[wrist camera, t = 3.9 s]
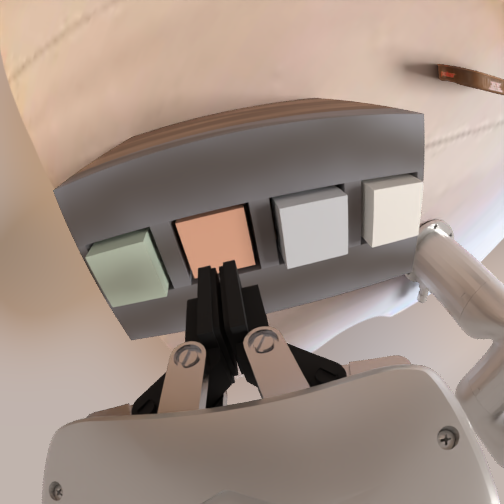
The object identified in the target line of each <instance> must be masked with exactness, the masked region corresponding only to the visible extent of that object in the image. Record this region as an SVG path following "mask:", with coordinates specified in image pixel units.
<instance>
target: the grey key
mask: <svg viewBox="0 0 504 504" xmlns="http://www.w3.org/2000/svg"><path fill="white" fill-rule="evenodd" d="M270 198H271V204H272V210H273V216H274V223H275V229H276V236H277V242H278V248H279V251H280V253H281V255H282V257H283V260H284V262H285V264H286V266H287V269H290V268H294V267H298V266H302V265H306V264H310V263H314V262H318V261H322V260H326V259H330V258H334V257H338V256H342V255H346V254H348V195H347V194H345V193H344V192H343V191H342V190H341V189H339V188H338V187H337V186H336V185H332V186H326V187H321V188H315V189H310V190H305V191H300V192H295V193H290V194H285V195H280V196H275V197H270Z"/></svg>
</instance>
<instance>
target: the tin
mask: <svg viewBox="0 0 504 504" xmlns="http://www.w3.org/2000/svg"><path fill="white" fill-rule="evenodd" d="M437 65H438V71H439V79H440V80H442V81H450V82H455V83H457V84H460V85H464V86H468V87H472V88H476V89H480V90H484V91H489V92H492V93H497V94H501V95H504V79H501V78H498V77H495V76H492V75H488V74H485V73H482V72H478V71H474V70H470V69H466V68H461V67H456V66H450V65H444V64H437Z"/></svg>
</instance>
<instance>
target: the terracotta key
mask: <svg viewBox="0 0 504 504" xmlns="http://www.w3.org/2000/svg"><path fill="white" fill-rule="evenodd" d="M176 227H177V230H178V233H179V236H180V239H181V242H182V245H183V247H184V250H185V253H186V256H187V259H188V262H189V264H190V267H191V270H192V273H193V275H194V278H198V268H201V267H205V266H209V265H210V266H211V268H216V270H217V273H219V266H223V262H227V261H231V260H235V262H236V266H237V269H239V268H243V267H247V266H252V265H256V264H255V260H254V255H253V250H252V245H251V240H250V236H249V231H248V226H247V221H246V216H245V212H244V207H243V204H238V205H234V206H230V207H225V208H221V209H217V210H213V211H209V212H204V213H200V214H196V215H192V216H188V217H184V218H180V219H176Z"/></svg>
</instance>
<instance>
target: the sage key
mask: <svg viewBox="0 0 504 504" xmlns="http://www.w3.org/2000/svg"><path fill="white" fill-rule="evenodd" d="M85 258H86V260H87V262H88V264H89V266H90V268H91V270H92V272H93V274H94V276H95V277H96V279H97V281H98V283H99V285H100V287H101V288H102V290H103V292H104V294H105V295H106V297H107V299H108V301H109V302H110V304H111V306H112V307H118V306H123V305H128V304H133V303H138V302H142V301H147V300H152V299H157V298H162V297H167V293H168V286H169V279H170V277H169V274H168V272H167V270H166V267H165V265H164V262H163V260H162V257H161V255H160V252H159V250H158V247H157V245H156V242H155V239H154V237H153V234H152V231H151V229H150V227H146V228H143V229H139V230H135V231H132V232H128V233H125V234H121V235H118V236H114V237H111V238H108V239H104V240H101V241H98V242H94V244H93V245H92V247H91V249H90V250H89V252H88V254H87V255H86V257H85Z"/></svg>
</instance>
